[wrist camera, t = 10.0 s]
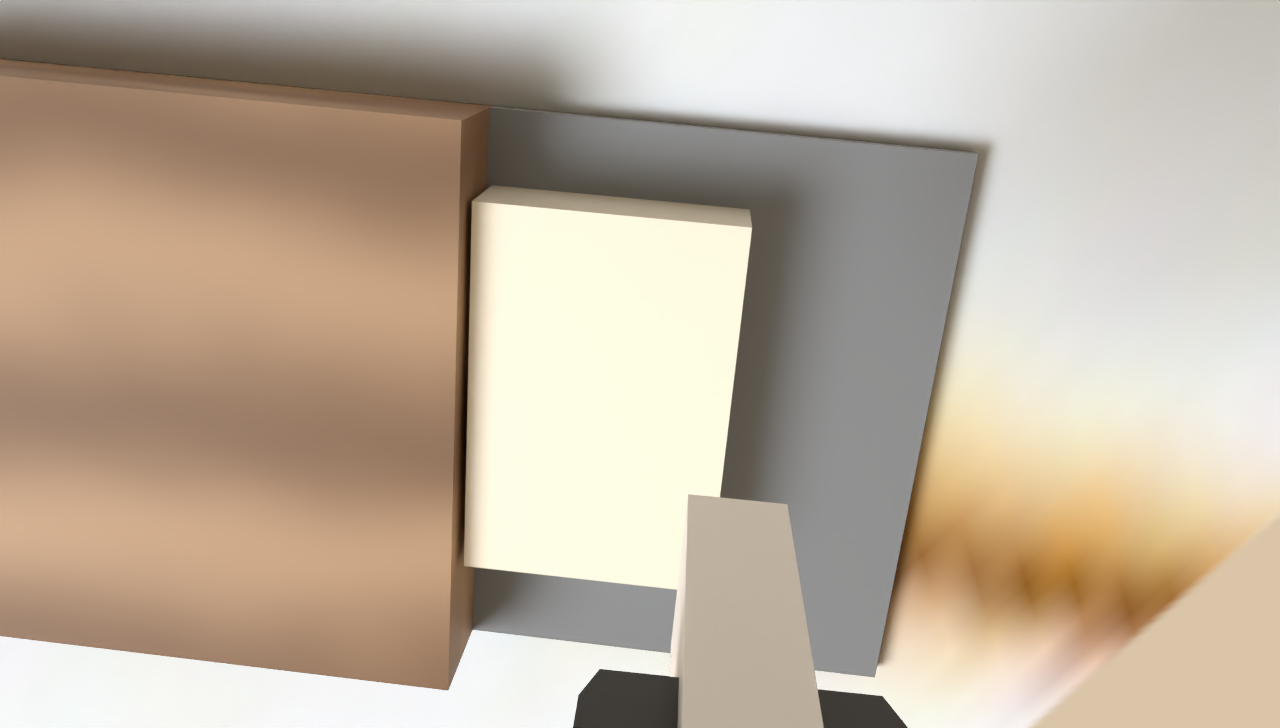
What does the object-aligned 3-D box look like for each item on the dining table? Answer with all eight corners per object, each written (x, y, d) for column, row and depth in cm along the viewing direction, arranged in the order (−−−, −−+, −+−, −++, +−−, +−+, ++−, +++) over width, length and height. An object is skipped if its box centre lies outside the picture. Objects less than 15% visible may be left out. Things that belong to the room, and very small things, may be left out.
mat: (493, 106, 23) (489, 107, 23) (974, 152, 23) (978, 154, 22) (475, 621, 28) (472, 629, 28) (873, 668, 28) (874, 677, 27)
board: (-92, 49, 24) (-202, 56, 21) (493, 106, 23) (461, 120, 20) (-11, 563, 29) (-91, 625, 26) (475, 621, 28) (448, 690, 25)
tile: (492, 185, 23) (472, 201, 22) (749, 209, 23) (752, 227, 21) (482, 526, 27) (463, 565, 25) (709, 550, 26) (708, 593, 24)
